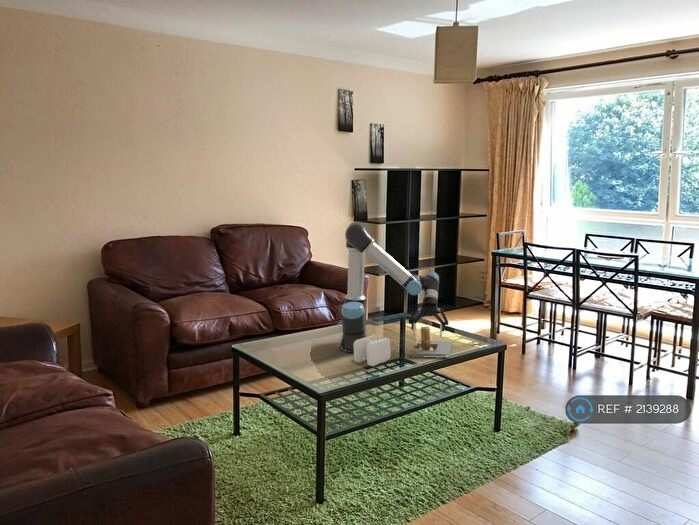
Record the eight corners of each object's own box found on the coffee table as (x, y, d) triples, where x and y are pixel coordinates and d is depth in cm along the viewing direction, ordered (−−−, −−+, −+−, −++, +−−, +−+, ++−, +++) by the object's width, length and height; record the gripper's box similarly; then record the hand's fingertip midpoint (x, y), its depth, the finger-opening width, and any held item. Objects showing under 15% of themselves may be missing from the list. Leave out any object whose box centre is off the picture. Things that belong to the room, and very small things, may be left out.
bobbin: (418, 352, 288) (417, 329, 286) (420, 348, 295) (419, 325, 293) (432, 353, 287) (431, 330, 285) (433, 349, 293) (433, 326, 291)
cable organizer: (368, 368, 270) (367, 344, 268) (353, 363, 278) (352, 340, 276) (391, 360, 280) (390, 337, 278) (376, 355, 288) (375, 333, 286)
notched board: (412, 357, 283) (411, 353, 282) (418, 344, 302) (417, 340, 301) (449, 358, 278) (449, 354, 278) (452, 345, 297) (452, 341, 297)
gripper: (454, 303, 301) (452, 340, 289) (407, 303, 308) (403, 338, 296) (453, 296, 295) (451, 333, 283) (405, 295, 302) (401, 331, 290)
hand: (427, 336), depth 290 cm, fingers open, 13 cm apart
